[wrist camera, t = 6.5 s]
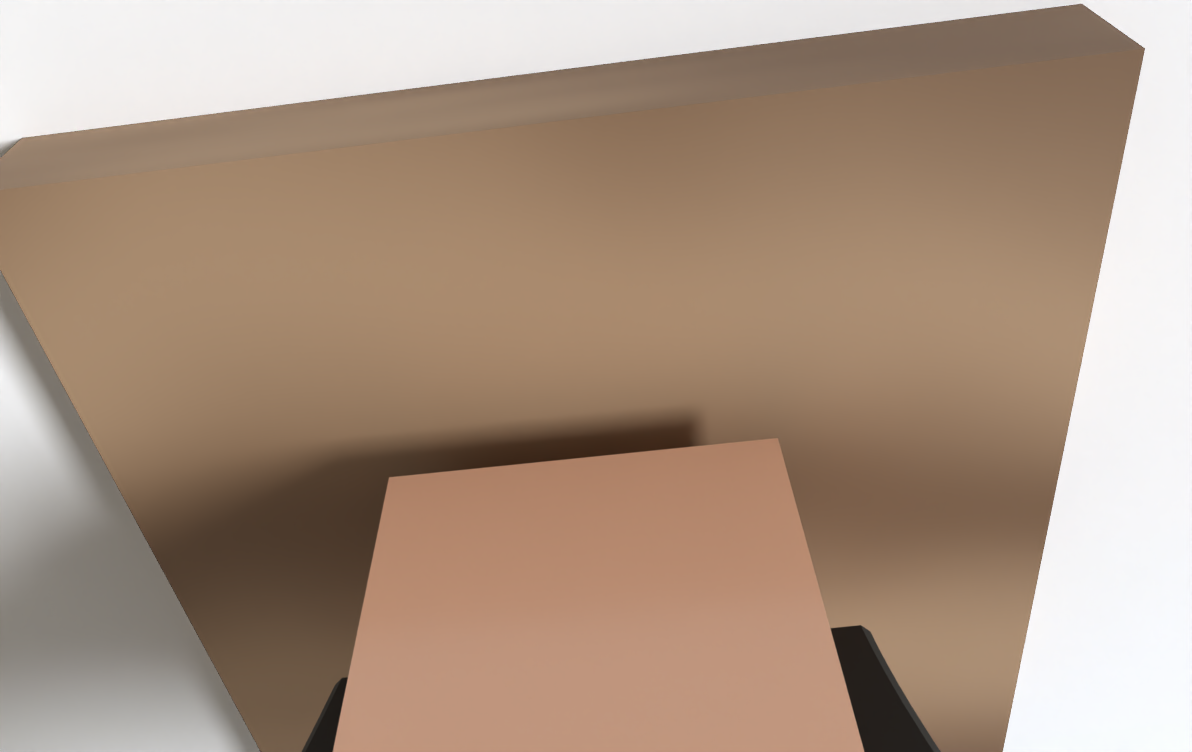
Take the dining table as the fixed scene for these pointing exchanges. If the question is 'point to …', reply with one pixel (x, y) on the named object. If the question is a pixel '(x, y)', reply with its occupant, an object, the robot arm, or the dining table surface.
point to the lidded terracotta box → (597, 612)
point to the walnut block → (599, 320)
